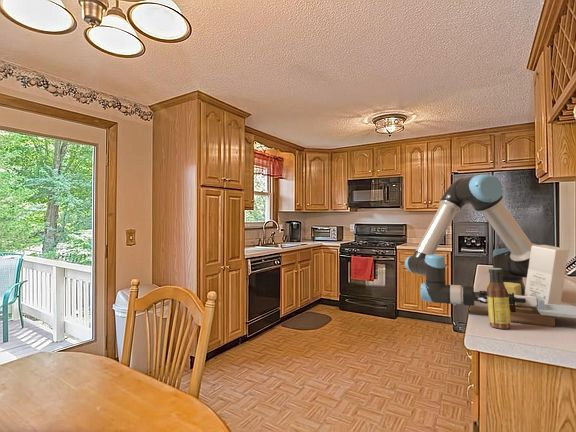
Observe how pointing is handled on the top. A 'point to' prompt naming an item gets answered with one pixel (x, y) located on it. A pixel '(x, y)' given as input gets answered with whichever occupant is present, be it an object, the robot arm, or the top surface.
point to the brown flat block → (529, 316)
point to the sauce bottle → (498, 300)
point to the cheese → (512, 289)
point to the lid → (555, 309)
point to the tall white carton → (546, 273)
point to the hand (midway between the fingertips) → (536, 300)
